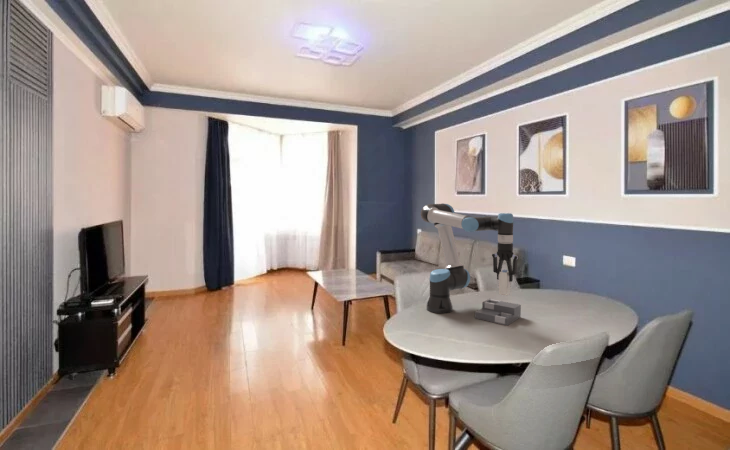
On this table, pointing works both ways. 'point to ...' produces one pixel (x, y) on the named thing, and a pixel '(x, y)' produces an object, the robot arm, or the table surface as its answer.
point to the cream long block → (503, 283)
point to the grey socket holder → (499, 312)
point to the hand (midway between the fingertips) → (504, 286)
